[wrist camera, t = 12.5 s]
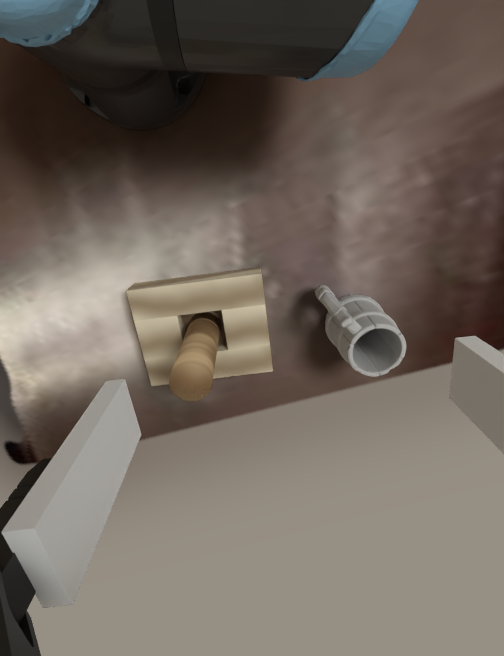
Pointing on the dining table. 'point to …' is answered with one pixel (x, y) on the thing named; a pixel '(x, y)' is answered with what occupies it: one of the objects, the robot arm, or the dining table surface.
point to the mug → (362, 332)
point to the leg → (196, 358)
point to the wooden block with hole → (196, 297)
